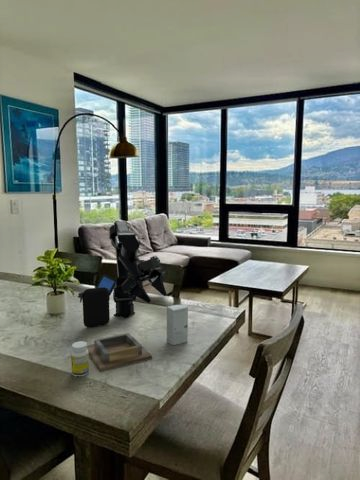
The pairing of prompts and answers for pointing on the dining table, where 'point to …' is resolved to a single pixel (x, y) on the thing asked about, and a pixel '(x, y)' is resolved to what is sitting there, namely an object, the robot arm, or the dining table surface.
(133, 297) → the robot arm
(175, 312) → the skincare box
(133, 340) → the sleeve holder
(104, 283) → the game console
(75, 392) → the dining table surface
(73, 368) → the supplement bottle
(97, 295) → the carrying case or bag
